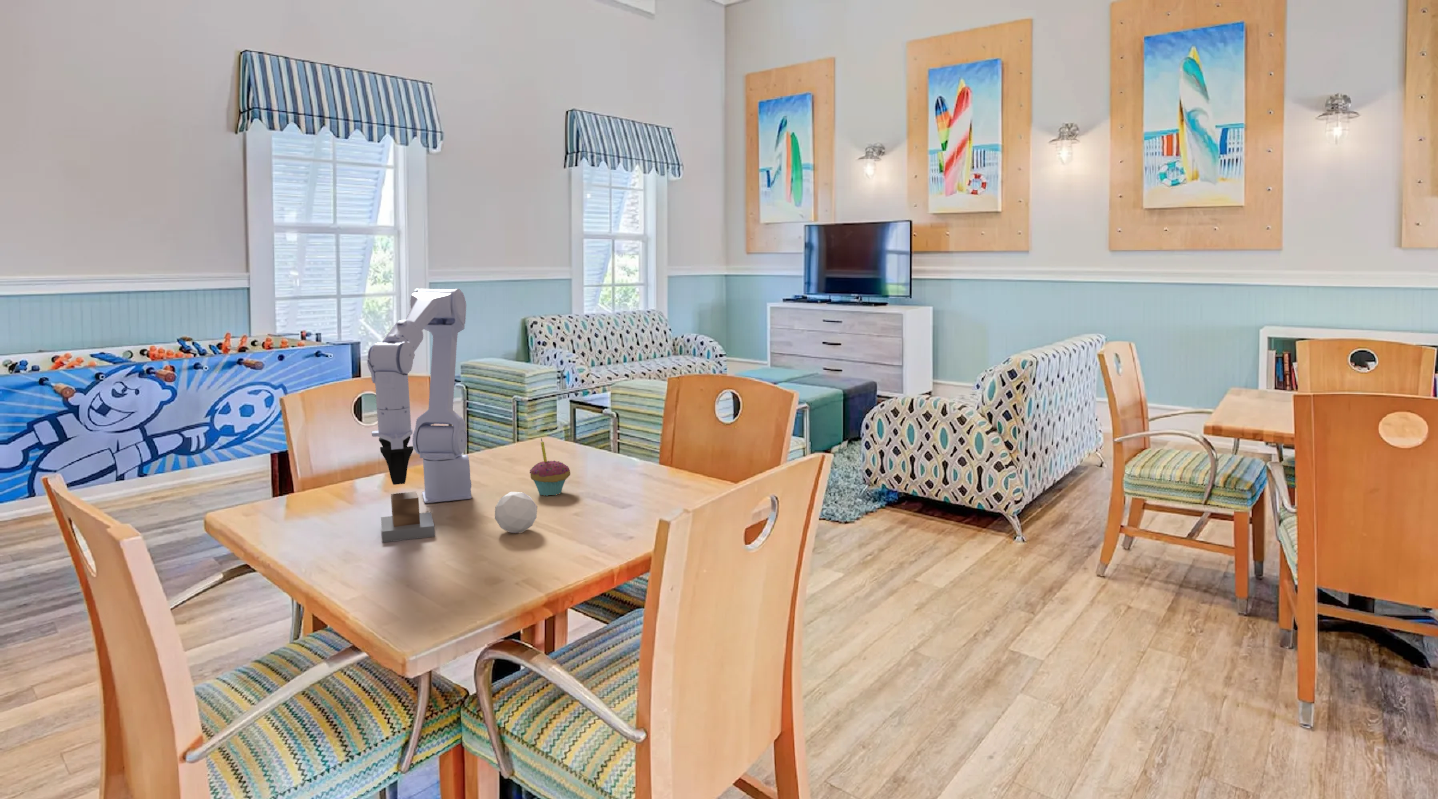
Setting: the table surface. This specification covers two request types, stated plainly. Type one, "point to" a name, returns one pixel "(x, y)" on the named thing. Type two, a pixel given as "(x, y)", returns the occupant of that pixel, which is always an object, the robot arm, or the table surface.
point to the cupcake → (549, 475)
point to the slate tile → (407, 529)
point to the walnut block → (405, 509)
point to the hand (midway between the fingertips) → (397, 478)
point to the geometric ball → (515, 512)
